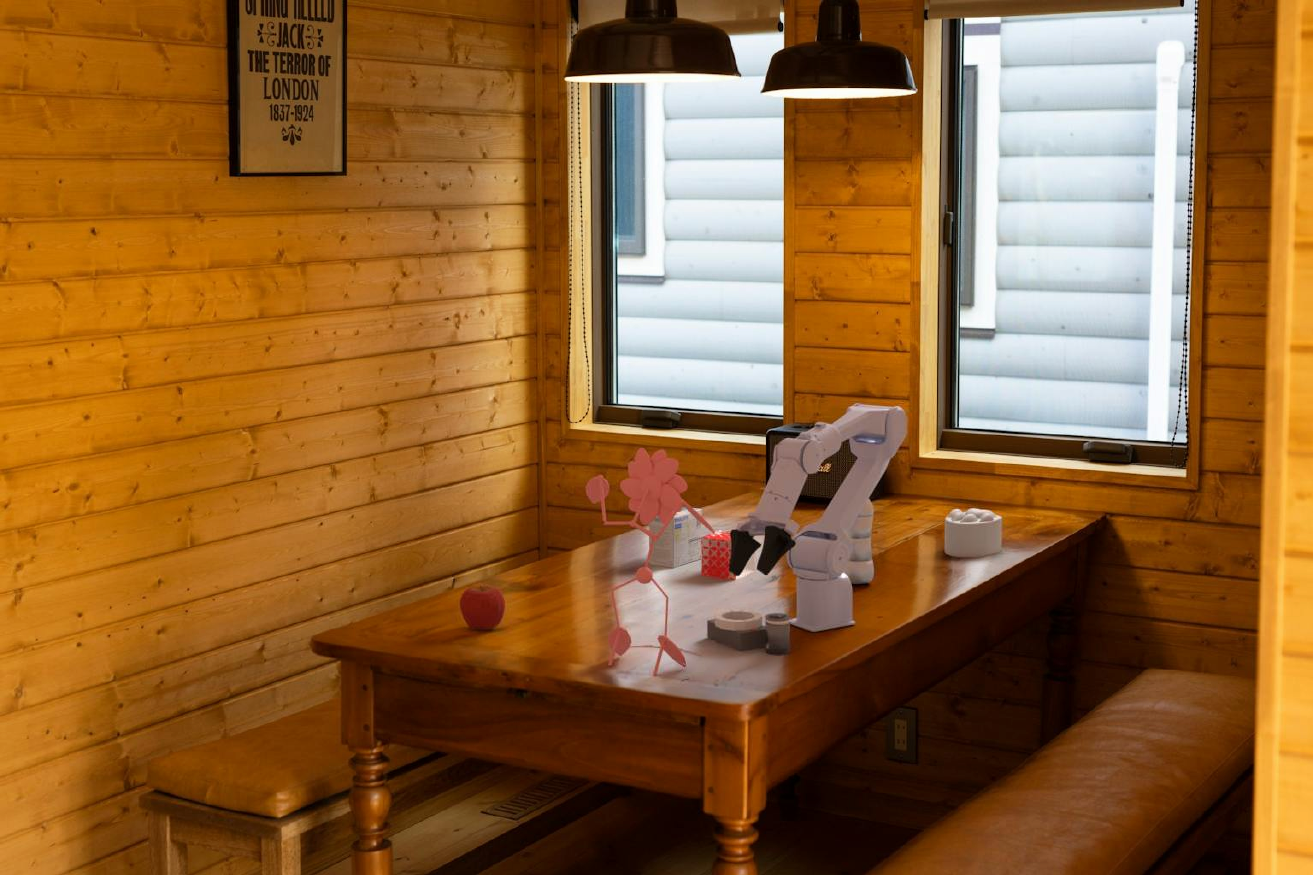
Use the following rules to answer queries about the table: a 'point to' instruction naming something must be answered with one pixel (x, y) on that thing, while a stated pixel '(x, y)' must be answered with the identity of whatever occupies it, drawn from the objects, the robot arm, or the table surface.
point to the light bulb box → (676, 540)
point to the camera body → (737, 629)
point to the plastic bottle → (861, 547)
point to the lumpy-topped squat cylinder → (972, 533)
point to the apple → (482, 607)
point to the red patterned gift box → (720, 556)
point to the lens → (777, 634)
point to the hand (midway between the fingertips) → (747, 572)
